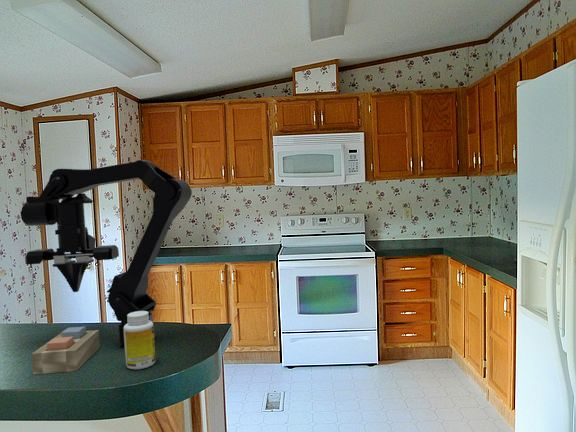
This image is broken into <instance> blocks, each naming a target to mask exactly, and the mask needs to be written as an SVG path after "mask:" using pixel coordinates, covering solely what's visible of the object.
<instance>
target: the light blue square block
mask: <svg viewBox="0 0 576 432" xmlns="http://www.w3.org/2000/svg"><path fill="white" fill-rule="evenodd" d="M86 331H87V329H86V326H85V325H83V326H72V327H67V328H65V329H64V330H63V331H62V332H60V333H61V337H73V336H74V339H81V338H82V337H83V336H84V335H86Z"/></svg>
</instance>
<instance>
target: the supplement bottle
mask: <svg viewBox="0 0 576 432" xmlns="http://www.w3.org/2000/svg"><path fill="white" fill-rule="evenodd" d="M154 329H155V327H154V322H152V321H150V320H149V314H148V312H147V311H136V312H132V313H129V314H128V315H127V324H126V325H125V326H124V345H125V347H124V357H125V366H126V367H127V368H128V369H130V370H142V369H146V368H149V367H151V366H153V365H154V364H155V363H156V361H157V360H156V347H155V346H156V343H155V338H154V335H155V330H154Z"/></svg>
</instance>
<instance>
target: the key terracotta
mask: <svg viewBox="0 0 576 432" xmlns="http://www.w3.org/2000/svg"><path fill="white" fill-rule="evenodd" d="M53 338H54V339H53ZM53 338H52V339H53V340H52V339H50V340H51V341H50V340H49V341H50V342H49V341H48V342H49V343H48V342H46V343H47V351H52V350H65V349H69V348H70V347H71V346H72V345H74V336H73V337H60V338H55V337H53Z"/></svg>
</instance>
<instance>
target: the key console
mask: <svg viewBox="0 0 576 432" xmlns="http://www.w3.org/2000/svg"><path fill="white" fill-rule="evenodd" d="M60 337H61V332H59V334H57V335H56V336H55V337H53V338H52V339H50V340H49V341H48V342H46V343H44V345H42V346H41V347H39V348H38V349H37V350H35V351H34V352H31V361H32V373H33V374H32V375H44V374H54V373H69V372H77V371H78V370H79V369H80V368H81V367H82V366H83V365H84V364H85V363H86V362H87V361H88V360H89V359H90V358H91V357H92V356H93V355H94V354H95V353H96V352H97V351H98V350H100V348H101V347H100V346H101V345H100V344H101V343H100V331H99V329H94V330H93V329H92V330H91V329H90V330H86V335H84V336H83V337H82V338H81V339H74V345H72V346H71V347H70V348H69V349H65V350H52V351H47V343H49V342H50V341H51V340H53V339H54V338H60Z"/></svg>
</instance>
